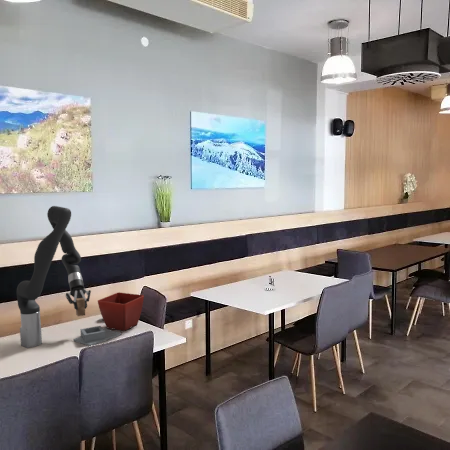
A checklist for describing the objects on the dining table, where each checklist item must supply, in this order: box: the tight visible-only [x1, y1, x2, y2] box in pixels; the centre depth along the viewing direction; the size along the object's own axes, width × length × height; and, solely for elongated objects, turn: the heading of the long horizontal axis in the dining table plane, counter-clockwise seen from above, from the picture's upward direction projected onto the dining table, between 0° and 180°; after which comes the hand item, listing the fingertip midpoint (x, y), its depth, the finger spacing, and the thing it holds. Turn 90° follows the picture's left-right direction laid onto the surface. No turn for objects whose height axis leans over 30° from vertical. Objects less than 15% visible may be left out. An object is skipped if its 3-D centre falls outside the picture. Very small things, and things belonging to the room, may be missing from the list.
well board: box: [73, 325, 122, 347], centre depth 240 cm, size 20×14×5 cm
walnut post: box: [75, 298, 86, 317], centre depth 245 cm, size 4×4×9 cm
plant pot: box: [97, 291, 145, 332], centre depth 257 cm, size 19×19×17 cm
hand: (81, 308), depth 244 cm, fingers closed on walnut post, 4 cm apart
